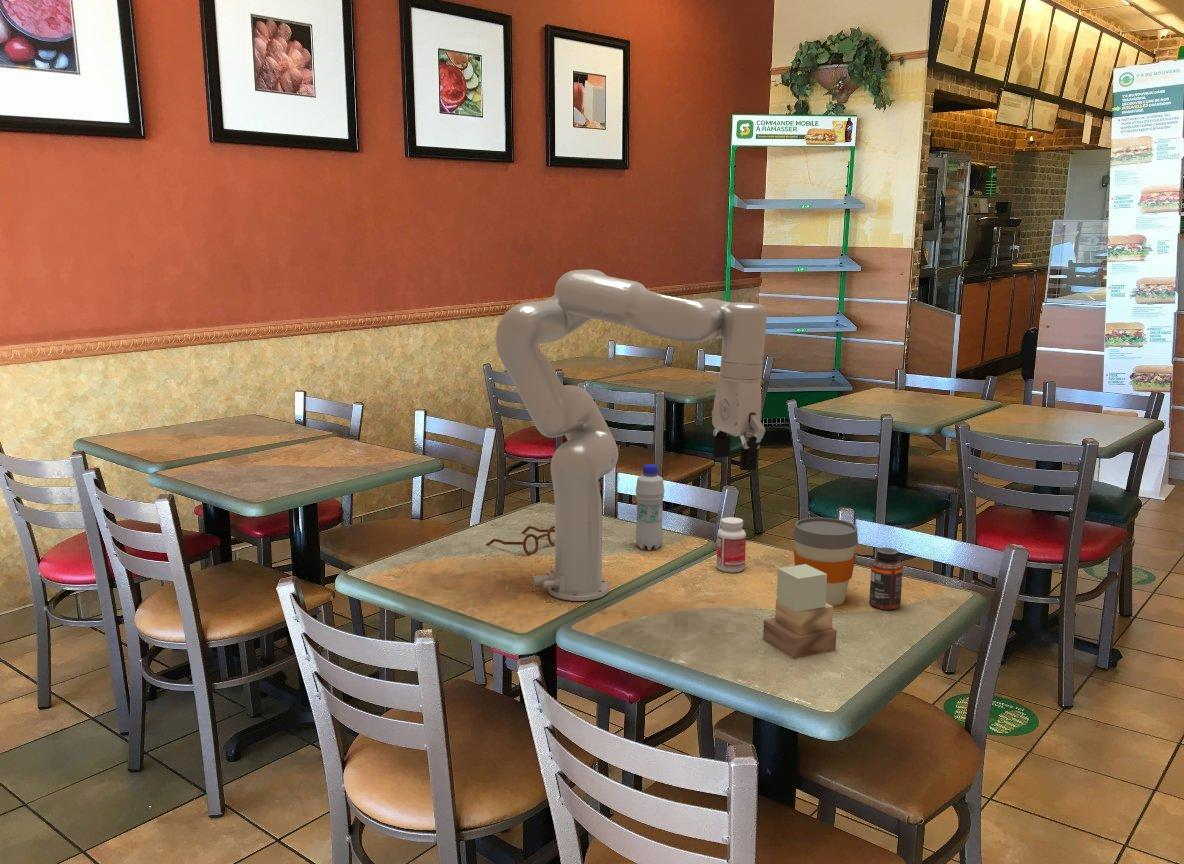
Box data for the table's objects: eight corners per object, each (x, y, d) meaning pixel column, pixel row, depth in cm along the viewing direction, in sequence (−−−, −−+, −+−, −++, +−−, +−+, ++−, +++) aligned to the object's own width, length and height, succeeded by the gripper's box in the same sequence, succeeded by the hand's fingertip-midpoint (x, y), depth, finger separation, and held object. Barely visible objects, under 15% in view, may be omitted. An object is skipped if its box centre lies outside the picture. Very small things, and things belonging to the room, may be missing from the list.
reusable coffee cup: (815, 613, 181) (819, 538, 178) (777, 591, 192) (781, 521, 189) (867, 603, 186) (872, 531, 183) (828, 583, 197) (832, 514, 194)
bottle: (664, 551, 217) (666, 467, 213) (635, 551, 217) (636, 467, 213) (662, 542, 223) (664, 460, 220) (634, 542, 223) (635, 460, 220)
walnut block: (792, 660, 161) (794, 638, 160) (762, 640, 169) (763, 619, 169) (835, 651, 165) (836, 630, 164) (804, 632, 173) (805, 612, 172)
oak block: (800, 635, 162) (801, 613, 161) (775, 620, 168) (776, 599, 167) (831, 628, 165) (833, 606, 164) (806, 614, 171) (807, 593, 170)
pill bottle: (750, 568, 206) (752, 520, 204) (733, 575, 202) (734, 525, 200) (727, 561, 210) (729, 514, 208) (710, 568, 206) (712, 519, 204)
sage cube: (797, 612, 161) (798, 578, 160) (776, 600, 167) (777, 568, 166) (825, 606, 164) (827, 574, 163) (804, 595, 169) (805, 564, 168)
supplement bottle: (900, 601, 187) (904, 547, 185) (900, 612, 182) (904, 556, 179) (869, 598, 189) (873, 544, 187) (867, 608, 184) (871, 553, 181)
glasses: (526, 558, 213) (525, 537, 212) (484, 547, 221) (484, 526, 220) (563, 544, 223) (563, 524, 222) (522, 534, 231) (522, 514, 230)
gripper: (700, 364, 177) (694, 453, 180) (747, 379, 161) (740, 476, 165) (735, 364, 179) (728, 451, 183) (785, 378, 164) (776, 473, 167)
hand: (734, 463), depth 174 cm, fingers open, 9 cm apart
